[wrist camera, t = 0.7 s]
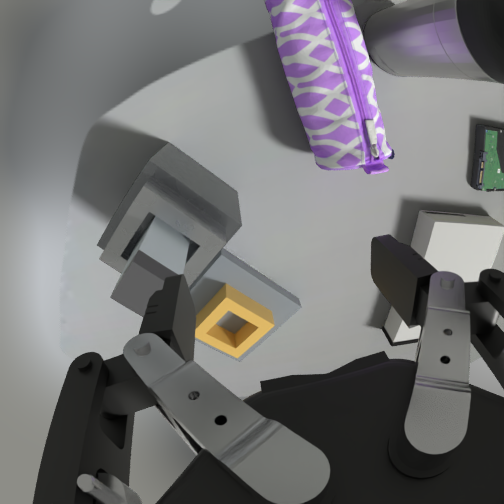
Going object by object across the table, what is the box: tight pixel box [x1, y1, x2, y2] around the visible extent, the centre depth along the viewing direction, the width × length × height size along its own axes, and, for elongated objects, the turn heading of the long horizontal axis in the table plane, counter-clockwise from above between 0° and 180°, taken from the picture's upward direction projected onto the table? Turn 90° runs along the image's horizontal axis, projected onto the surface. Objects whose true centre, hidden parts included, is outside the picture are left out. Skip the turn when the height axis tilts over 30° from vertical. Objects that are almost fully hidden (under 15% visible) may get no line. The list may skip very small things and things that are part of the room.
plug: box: [110, 216, 190, 317], centre depth 24 cm, size 4×4×9 cm
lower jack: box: [189, 248, 301, 362], centre depth 42 cm, size 14×14×5 cm
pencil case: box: [264, 0, 395, 174], centre depth 26 cm, size 22×9×10 cm, turn 20°
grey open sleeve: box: [97, 142, 242, 287], centre depth 31 cm, size 10×10×13 cm
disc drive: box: [382, 210, 504, 346], centre depth 44 cm, size 18×22×5 cm
